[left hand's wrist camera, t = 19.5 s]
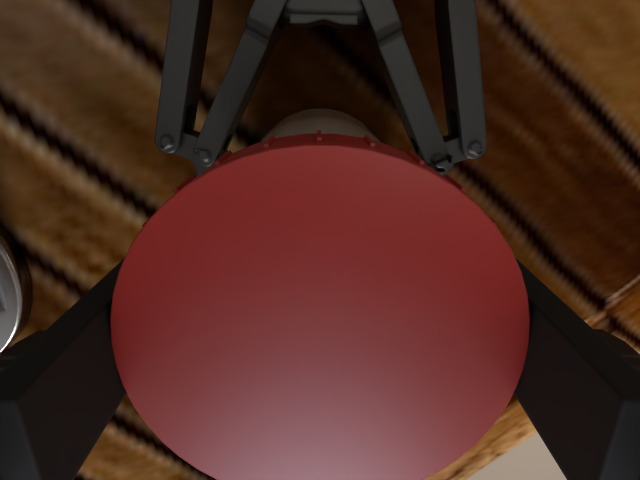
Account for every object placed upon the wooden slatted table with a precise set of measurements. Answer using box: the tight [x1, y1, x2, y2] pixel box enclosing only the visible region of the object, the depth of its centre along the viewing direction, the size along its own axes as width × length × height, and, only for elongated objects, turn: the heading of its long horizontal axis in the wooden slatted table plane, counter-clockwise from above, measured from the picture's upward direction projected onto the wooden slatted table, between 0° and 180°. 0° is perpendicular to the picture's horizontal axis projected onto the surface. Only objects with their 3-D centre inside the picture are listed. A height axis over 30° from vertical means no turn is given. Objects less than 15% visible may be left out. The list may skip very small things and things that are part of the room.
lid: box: [110, 130, 530, 480], centre depth 11 cm, size 10×10×2 cm
